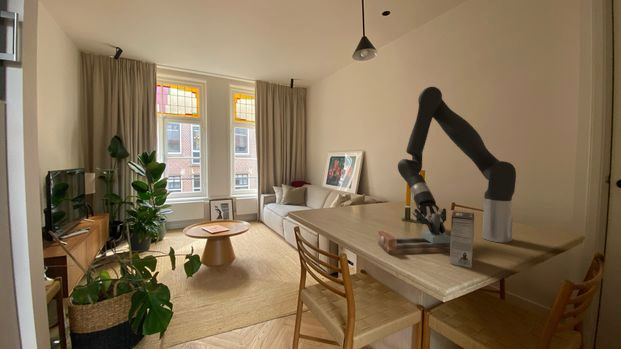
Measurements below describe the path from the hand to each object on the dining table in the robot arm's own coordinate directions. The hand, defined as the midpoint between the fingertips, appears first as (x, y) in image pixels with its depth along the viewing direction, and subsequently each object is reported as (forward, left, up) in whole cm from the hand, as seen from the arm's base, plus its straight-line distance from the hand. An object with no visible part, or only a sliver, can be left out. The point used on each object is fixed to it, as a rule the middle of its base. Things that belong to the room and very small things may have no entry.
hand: (438, 232), depth 93 cm
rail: (+6, -2, -6) cm, 9 cm away
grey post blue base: (0, -2, -3) cm, 4 cm away
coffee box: (-1, +11, -7) cm, 13 cm away
